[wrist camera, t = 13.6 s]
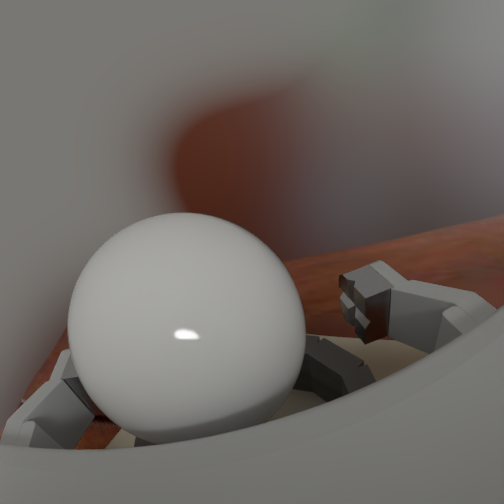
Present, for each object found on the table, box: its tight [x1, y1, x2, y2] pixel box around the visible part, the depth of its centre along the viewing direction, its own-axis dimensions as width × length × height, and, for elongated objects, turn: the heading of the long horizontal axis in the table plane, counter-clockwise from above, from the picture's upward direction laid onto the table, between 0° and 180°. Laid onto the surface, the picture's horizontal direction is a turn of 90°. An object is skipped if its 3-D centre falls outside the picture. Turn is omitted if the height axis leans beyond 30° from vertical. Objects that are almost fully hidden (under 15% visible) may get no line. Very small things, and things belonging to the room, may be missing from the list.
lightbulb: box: [68, 213, 306, 445], centre depth 9 cm, size 6×6×11 cm
